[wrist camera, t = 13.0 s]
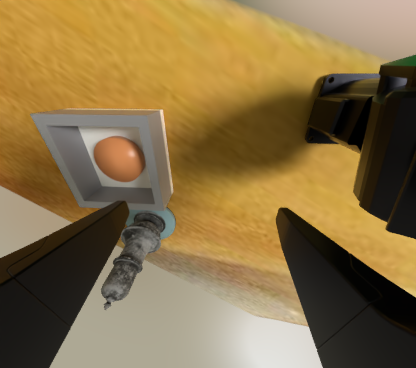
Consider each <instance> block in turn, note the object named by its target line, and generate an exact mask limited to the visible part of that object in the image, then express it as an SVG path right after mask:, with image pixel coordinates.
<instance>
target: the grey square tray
mask: <svg viewBox="0 0 416 368" xmlns="http://www.w3.org/2000/svg"><path fill="white" fill-rule="evenodd" d="M30 115H31V117H32V119H33V121H34V123H35V124H36V126H37V128H38V130H39V132H40V134H41V136H42V138H43V139H44V141H45V143H46V145H47V147H48V149H49V151H50V152H51V154H52V156H53V158H54V160H55V162H56V164H57V165H58V167H59V169H60V171H61V173H62V175H63V177H64V179H65V180H66V182H67V184H68V186H69V188H70V190H71V192H72V193H73V195H74V197H75V199H76V201H77V203H78V205H79V207H88V208H104V207H106V206H108V205H110V204H112V203H114V202H116V201H118V200H124V201H126V202H127V205H128V208H129V209H130V210H151V211H165V209H166V206H167V204H168V202H169V200H170V198H171V195H172V193H173V183H172V176H171V168H170V161H169V153H168V146H167V138H166V131H165V123H164V115H163V109H85V108H68V109H61V110H54V111H47V112H40V113H33V114H30ZM110 136H122V137H125V138H128V139H130V140H131V141H133V142H134V143H135V144H136V145H137V146H138V147H139V148H140V149H141V151H142V153H143V155H144V158H145V168H144V170H143V172H142V173H141V174H140V175H139V176H138V177H137V178H136V179H135V180H133V181H131V182H119V181H116V180H113V179H111V178H109V177H108V176H106V175H105V174H104V173H103V172H102V171H101V170H100V169H99V167H98V166H97V164H96V162H95V159H94V148H95V146H96V144H97V143H98V142H99V141H101V140H103V139H105V138H108V137H110Z"/></svg>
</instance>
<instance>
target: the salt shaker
mask: <svg viewBox="0 0 416 368" xmlns="http://www.w3.org/2000/svg"><path fill="white" fill-rule="evenodd" d="M165 227H166V223H165V221H164V219H163V218H162V217H161V216H160V215H158V214H157V213H155V212H152V211H141V212H138V213H137V214H136V215H135V216H134V223H132V224H131V225H129V226H128V227H126V228H125V229H123V231H122V233H121V240H122V242H123V243H124V244H125V247H124V249H123V251H122V252H121V254H120V256H119V257H117V258H115V260H114V261H113V264H114V267H113V269H112V270H111V272H110V274H109V275H108V277H107V279H106V281H105V282H104V284H103V286H102V289H101V292H102V295H103V297H104V298H106V300H107V303H105V304H104V305H105V306H104V308H105V310H106V309H107V308H109V307H110V306H111V302H114V301H119V300H122V299H123V298H125V297H126V296H127V294H128V292H129V290H130V288H131V286H132V284H133V281H134V279H135V277H136V275H137V273H139V272H141V271H142V263H143V260H144V258H145V256H146V254H147V253H153V252H155V251H157V250H158V249H159V248H160V246H161V236H160V233H162V232H163V231H164V230H165Z"/></svg>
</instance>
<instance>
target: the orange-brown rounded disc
mask: <svg viewBox="0 0 416 368" xmlns="http://www.w3.org/2000/svg"><path fill="white" fill-rule="evenodd" d="M94 159H95V162H96V164H97V166H98V167H99V169H100V170H101V171H102V172H103V173H104V174H105V175H106V176H108V177H109V178H111V179H113V180H116V181H119V182H131V181H133V180H135V179H136V178H137V177H138V176H139V175H140V174H141V173H142V172H143V170H144V168H145V158H144V155H143V153H142V151H141V149H140V148H139V147H138V146H137V145H136V144H135V143H134V142H133V141H131V140H130V139H128V138H125V137H122V136H110V137H108V138H105V139H103V140H101V141H99V142H98V143H97V144H96V146H95V148H94Z"/></svg>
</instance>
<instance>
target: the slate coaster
mask: <svg viewBox="0 0 416 368" xmlns="http://www.w3.org/2000/svg"><path fill="white" fill-rule="evenodd" d="M141 211H151V210H130V209H129V212H130V213H129V217H128V219H127V221H126V225H127V226H129V225H131V224H132V223H134V216H135V215H136V214H137V213H138V212H141ZM152 212H155V213H157V214H158V215H160V216H161V217H162V218H163V219H164V221H165V223H166V227H165V230H164V231H163V232H162V233H160V236H161V239H164V238H167V237H169V236H170V235H171V234H172V233H173V231H174V228H175V225H176V220H175V217H174V215H173V213H172V212H171V210H170V209H169V208H167V207H166V209H165V211H152Z"/></svg>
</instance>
